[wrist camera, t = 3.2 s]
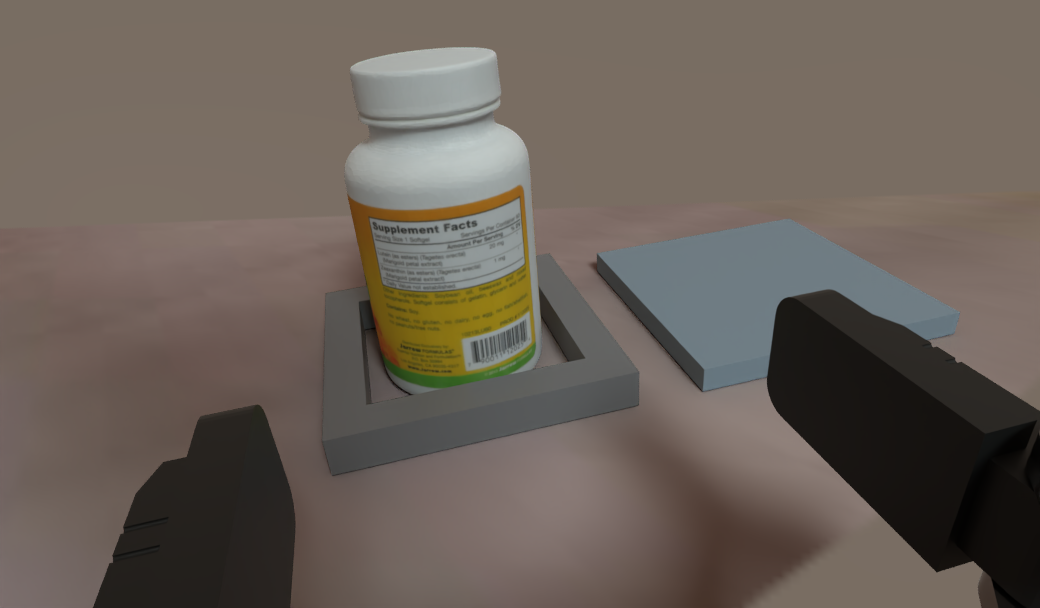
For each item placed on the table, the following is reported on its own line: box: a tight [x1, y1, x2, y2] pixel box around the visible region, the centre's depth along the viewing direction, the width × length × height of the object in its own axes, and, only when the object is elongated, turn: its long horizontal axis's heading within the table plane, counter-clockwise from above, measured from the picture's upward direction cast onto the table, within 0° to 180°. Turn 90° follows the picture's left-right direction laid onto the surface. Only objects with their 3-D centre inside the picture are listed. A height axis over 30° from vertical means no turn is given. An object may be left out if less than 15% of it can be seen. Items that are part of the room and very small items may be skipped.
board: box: [597, 219, 960, 391], centre depth 24 cm, size 9×9×1 cm
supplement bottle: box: [344, 47, 542, 395], centre depth 20 cm, size 5×5×10 cm
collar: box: [322, 253, 639, 476], centre depth 22 cm, size 9×9×1 cm
